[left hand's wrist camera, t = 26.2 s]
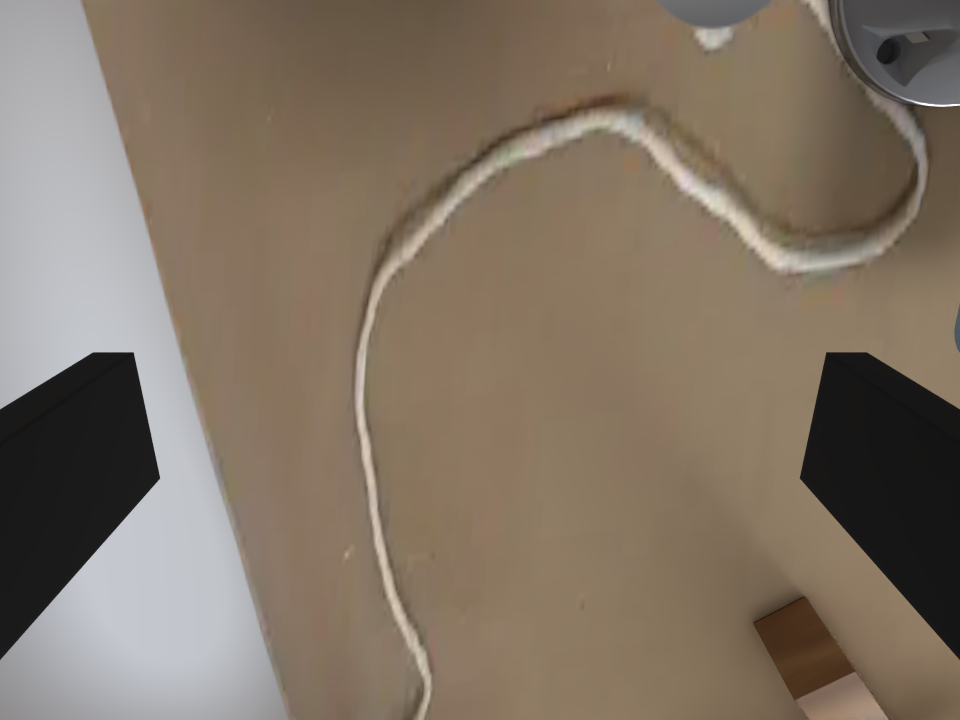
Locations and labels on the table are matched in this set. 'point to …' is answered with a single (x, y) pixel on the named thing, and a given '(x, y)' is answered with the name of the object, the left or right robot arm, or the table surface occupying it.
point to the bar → (816, 666)
